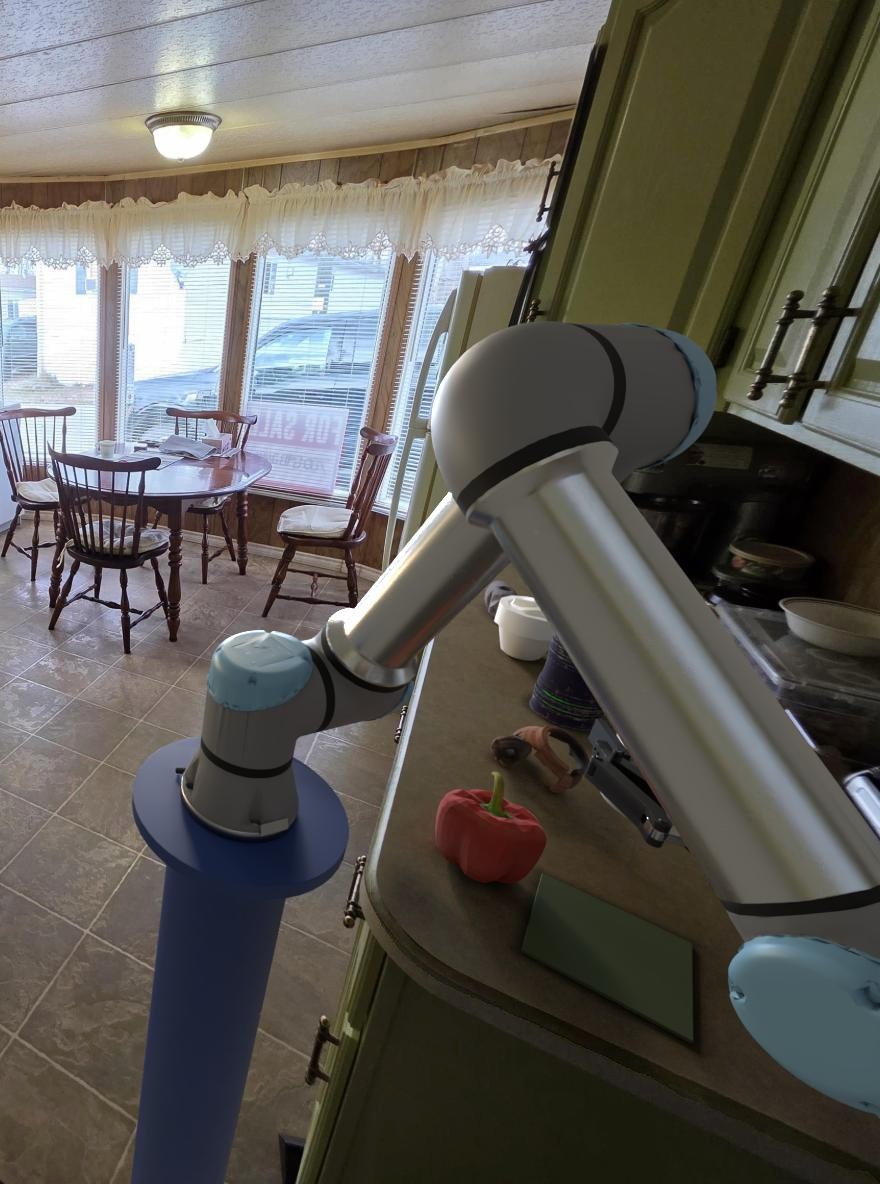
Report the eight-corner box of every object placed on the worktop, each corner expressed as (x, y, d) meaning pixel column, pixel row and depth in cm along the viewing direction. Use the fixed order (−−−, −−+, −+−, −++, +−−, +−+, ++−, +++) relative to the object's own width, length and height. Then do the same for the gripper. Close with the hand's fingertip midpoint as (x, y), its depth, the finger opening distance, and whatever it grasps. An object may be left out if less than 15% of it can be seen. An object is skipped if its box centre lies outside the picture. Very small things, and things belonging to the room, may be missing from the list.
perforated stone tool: (477, 598, 146) (485, 570, 144) (503, 602, 145) (512, 574, 142) (486, 624, 134) (496, 594, 131) (515, 629, 132) (526, 598, 129)
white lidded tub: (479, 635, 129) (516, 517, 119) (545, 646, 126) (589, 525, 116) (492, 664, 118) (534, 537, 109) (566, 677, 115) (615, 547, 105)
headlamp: (528, 747, 96) (576, 722, 90) (557, 809, 90) (610, 787, 84) (462, 733, 94) (507, 707, 87) (487, 796, 87) (537, 772, 81)
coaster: (520, 951, 64) (522, 949, 64) (541, 875, 73) (542, 872, 73) (691, 1044, 56) (693, 1041, 56) (690, 945, 65) (692, 943, 65)
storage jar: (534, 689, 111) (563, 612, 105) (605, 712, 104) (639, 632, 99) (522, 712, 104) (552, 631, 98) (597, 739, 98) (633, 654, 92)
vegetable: (428, 816, 81) (448, 753, 77) (523, 848, 77) (550, 782, 73) (425, 876, 72) (447, 808, 68) (532, 916, 68) (563, 846, 64)
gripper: (603, 900, 53) (523, 745, 73) (960, 988, 47) (769, 792, 67) (636, 832, 51) (544, 689, 70) (1023, 916, 44) (803, 733, 64)
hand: (654, 740), depth 68 cm, fingers closed on cup, 10 cm apart
